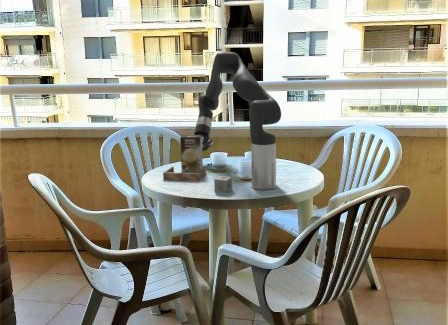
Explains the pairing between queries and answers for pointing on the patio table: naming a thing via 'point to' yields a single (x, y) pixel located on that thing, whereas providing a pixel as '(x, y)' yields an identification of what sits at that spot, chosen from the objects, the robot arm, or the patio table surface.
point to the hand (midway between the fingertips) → (197, 157)
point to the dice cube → (223, 184)
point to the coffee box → (191, 153)
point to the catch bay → (183, 175)
